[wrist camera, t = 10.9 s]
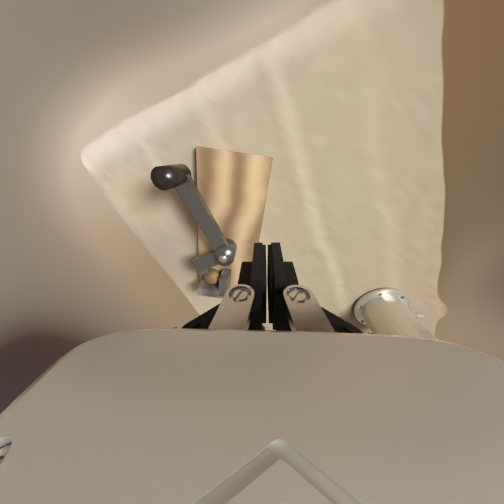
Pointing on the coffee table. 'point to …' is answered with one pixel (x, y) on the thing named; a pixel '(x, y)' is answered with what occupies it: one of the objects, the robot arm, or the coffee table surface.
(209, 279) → the walnut
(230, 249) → the lever
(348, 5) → the coffee table surface
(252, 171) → the tan wooden panel
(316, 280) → the coffee table surface
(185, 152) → the coffee table surface
